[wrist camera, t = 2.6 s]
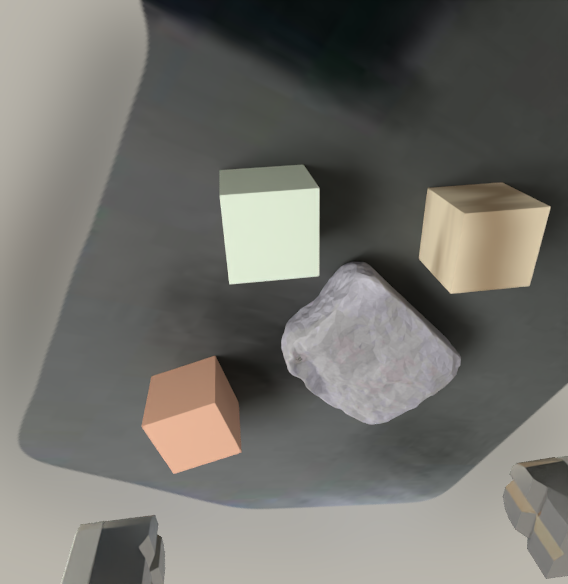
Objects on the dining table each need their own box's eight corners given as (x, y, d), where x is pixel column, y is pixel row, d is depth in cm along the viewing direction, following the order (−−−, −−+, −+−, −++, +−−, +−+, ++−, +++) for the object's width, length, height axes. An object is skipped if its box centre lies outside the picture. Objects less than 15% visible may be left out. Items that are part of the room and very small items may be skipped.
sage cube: (303, 164, 27) (319, 188, 22) (304, 241, 29) (319, 276, 25) (219, 169, 26) (219, 195, 22) (227, 247, 29) (229, 284, 24)
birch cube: (501, 182, 29) (550, 206, 25) (486, 252, 31) (529, 285, 27) (427, 187, 29) (464, 213, 24) (418, 258, 31) (450, 293, 27)
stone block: (361, 394, 39) (461, 334, 35) (368, 441, 35) (480, 381, 31) (261, 320, 35) (360, 240, 30) (255, 365, 31) (368, 281, 26)
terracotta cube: (215, 354, 33) (214, 402, 28) (238, 401, 35) (241, 452, 31) (151, 375, 33) (141, 426, 29) (179, 421, 36) (173, 474, 31)
